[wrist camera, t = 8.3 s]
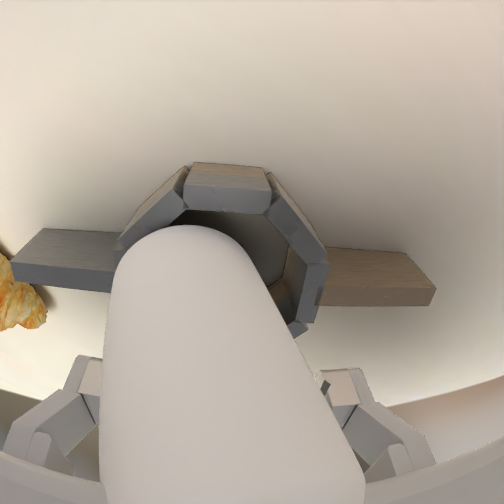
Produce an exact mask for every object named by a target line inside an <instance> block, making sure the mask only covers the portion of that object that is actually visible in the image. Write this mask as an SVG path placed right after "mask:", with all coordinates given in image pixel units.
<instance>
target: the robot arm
mask: <svg viewBox="0 0 504 504" xmlns="http://www.w3.org/2000/svg"><path fill="white" fill-rule="evenodd" d="M102 360H103V359H101V358H95V357H89V356H84V355H78V356H77V357H76V359H75V361H74V364H73V366H72V368H71V371H70V373H69V376H68V378H67V380H66V383H65V385H64V388H63V390H61V389H59V390H57V391H56V392H54V393H53V394H52V395H50V396H49V397H47V398H46V399H45V400H43V401H42V402H41V403H39V404H38V405H36V406H35V407H33V408H32V409H31V410H29V411H28V412H26V413H25V414H24V415H22V416H21V417H19V418H18V419H17V420H15V421H14V422H13V424H12V426H11V429H10V431H9V434H8V436H7V439H6V441H5V444H4V447H3V449H2V452H1V451H0V504H108V501H107V496H106V491H105V487H104V485H103V484H102V483H98V482H94V481H90V480H86V479H82V478H78V477H74V475H75V469H74V467H73V466H72V464H71V463H70V462H69V461H68V460H67V458H66V457H65V456H66V455H67V454H68V453H69V452H70V451H71V450H72V449H73V448H74V447H75V446H76V445H77V444H78V443H79V442H80V441H81V440H82V439H83V438H84V437H85V436H86V435H87V434H88V433H89V432H90V431H91V430H92V429H93V428H94V427H95V425H99V407H100V387H101V372H102ZM315 378H316V382H317V384H318V386H319V388H320V390H321V392H322V393H323V395H324V397H325V399H326V401H327V403H328V405H329V407H330V409H331V410H332V412H333V414H334V416H335V418H336V420H337V422H338V424H339V426H340V428H341V429H342V431H343V433H344V435H345V437H346V439H347V441H348V443H349V445H350V446H351V447H352V448H353V449H354V450H355V451H356V452H357V453H358V454H359V455H360V456H361V457H362V458H363V459H364V460H365V461H366V462H367V463H368V464H369V465H370V466H371V467H370V468H369V469H368V470H367V471H366V472H365V473H364V477H365V482H366V486H365V496H364V503H363V504H504V436H503V437H501V438H498V439H496V440H494V441H492V442H490V443H488V444H486V445H483V446H481V447H479V448H477V449H474V450H472V451H469V452H467V453H464V454H462V455H459V456H457V457H454V458H452V459H449V460H447V461H444V462H441V463H438V464H436V462H435V459H434V457H433V455H432V452H431V450H430V448H429V446H428V443H427V441H426V438H425V436H423V435H422V434H421V433H419V432H418V431H417V430H415V429H414V428H413V427H411V426H410V425H408V424H407V423H406V422H405V421H403V420H402V419H400V418H399V417H398V416H396V415H395V414H394V413H392V412H391V411H390V410H388V409H387V408H386V407H385V406H383V405H382V404H381V403H379V402H376V403H375V401H374V398H373V396H372V393H371V391H370V388H369V386H368V384H367V381H366V379H365V377H364V374H363V372H362V370H361V369H360V368H352V369H334V370H319V371H318V372H317V374H316V377H315Z"/></svg>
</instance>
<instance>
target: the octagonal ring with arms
mask: <svg viewBox="0 0 504 504" xmlns="http://www.w3.org/2000/svg"><path fill="white" fill-rule="evenodd" d="M189 172H197V173H212V174H226V175H239V176H250V177H261V178H267V181H268V183H269V185H270V187H271V186H273V185H274V184H275V183H276V184H277V185H278V186H279V188H280V189H281V190H282V191H283V193H284V194H285V195H286V196H287V198H288V199H289V200H290V201H291V203H292V204H293V205H294V206H295V208H296V209H297V210H298V211H299V213H300V214H301V215H302V217H303V218H304V219H305V220H306V222H307V223H308V224H309V226H310V227H311V228H312V229H313V227H312V226H311V224H310V222H309V221H308V219H307V218H306V216H305V215H304V214H303V213H302V211H301V210H300V209H299V207H298V206H297V205H296V204H295V202H294V201H293V200H292V199H291V197H290V196H289V195H288V193H287V192H286V191H285V190H284V188H283V187H282V186H281V185H280V183H279V182H278V181H277V180H276V178H275V177H274V176H273V175H272V174H271V172H270V173H269V174H267V175H266V176H265V174H264V171H263V169H262V168H260V167H249V166H238V165H225V164H212V163H196V162H194V164H193V166H192V168H191V170H190V171H189V170H188V168H187V167H186V166H184V167H183V168H181V169H180V170H179V171H178V172H177V173H176V174H175V175H174V176H172V177H171V178H170V179H169V180H168V181H167V182H166V183H165V184H164V185H163V186H161V187H160V188H159V189H158V190H157V191H156V192H155V193H154V194H153V195H152V196H151V197H150V198H149V199H147V200H146V201H145V202H144V203H143V204H142V205H141V206H140V207H139V208H138V210H137V211H136V213H135V214H134V216H133V217H132V219H133V218H134V217H135V216H136V215H137V214H138V213H139V212H140V211H141V210H142V209H143V208H144V207H145V206H146V205H148V204H149V203H150V202H151V201H152V200H153V199H154V198H155V197H156V196H157V195H158V194H159V193H160V192H162V191H163V190H164V189H165V188H166V187H167V186H168V185H169V184H170V183H171V182H173V181H174V180H175V179H176V178H177V177H178V176H180V177H181V178H182V179H183V180H184V181H186V179H187V177H188V174H189ZM132 219H131V220H132ZM131 220H130V221H131ZM313 231H314V229H313ZM314 232H315V231H314ZM316 235H317V234H316ZM324 249H325V250H326V252H327V254H328V256H326V258H327V260H328V262H329V264H330V266H329V270H328V274H327V277H326V281H325V285H324V288H323V292H322V291H321V290H319V291H320V292H322V295H321V296H320V295H319V293H318V297H316V298H317V301H315V304H314V306H429V304H430V302H431V299H432V297H433V295H434V293H435V290H436V287H435V286H434V285H433V284H432V282H431V281H430V280H429V279H428V278H427V277H426V275H425V274H424V273H423V272H422V271H421V270H420V269H419V268H418V266H417V265H416V264H415V263H414V262H413V261H412V260H411V259H410V258H409V257H408V255H407V254H406V253H397V252H385V251H372V250H360V249H347V248H334V247H324ZM296 258H297V252H296V251H295V250H294V249H293V247H292V246H291V245H290V244H289V247H288V253H287V258H286V263H285V269H284V274H283V277H282V278H280V279H279V280H278V281H276V282H275V283H273V284H272V285H270V286H269V287H267V290H268V292H269V294H270V295H271V297H272V299H273V301H274V303H275V305H277V304H278V303H280V302H281V301H283V300H284V299H286V298H287V297H289V292H290V287H291V283H292V278H293V273H294V268H295V263H296ZM320 286H322V285H320ZM319 288H320V287H319ZM320 294H321V293H320ZM319 296H320V297H321V299H320V298H319ZM318 298H319V299H318ZM315 300H316V299H315ZM319 301H320V302H319ZM317 302H319V303H318V305H317Z"/></svg>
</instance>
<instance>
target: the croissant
mask: <svg viewBox="0 0 504 504" xmlns="http://www.w3.org/2000/svg"><path fill="white" fill-rule="evenodd" d="M47 312H48V310H47V308H46V306H45V304H44V302H43V300H42V299H41V297H40V296H39V295H38V294H37V293H36V292H35V290H34V288H33V287H32V286H31V285H30V284H29V283H24V282H17V281H15V280H14V276H13V273H12V269H11V265H10V261H9V260H8V259H7V258H6V256H3V255H2V254H1V253H0V331H3V330H6V329H7V328H13V327H14V326H15V325H16V324H17V323H18V324H20V325H21V326H23V327H24V328H27V329H35V328H38V327H39V326H41V325H42V324H44V323H45V322H46V317H47V315H46V313H47Z"/></svg>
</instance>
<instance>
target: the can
mask: <svg viewBox="0 0 504 504" xmlns="http://www.w3.org/2000/svg"><path fill="white" fill-rule="evenodd" d="M99 470H100V483H102V484H103V485H104V487H105V491H106V496H107V501H108V504H363V503H364V496H365V486H366V482H365V477H364V474H363V472H362V469H361V467H360V465H359V463H358V461H357V459H356V457H355V455H354V453H353V451H352V449H351V447H350V445H349V443H348V441H347V439H346V437H345V435H344V433H343V431H342V429H341V428H340V426H339V424H338V422H337V420H336V418H335V416H334V414H333V412H332V410H331V409H330V407H329V405H328V403H327V401H326V399H325V397H324V395H323V393H322V392H321V390H320V388H319V386H318V384H317V382H316V380H315V378H314V376H313V374H312V373H311V371H310V369H309V367H308V365H307V363H306V361H305V359H304V357H303V356H302V354H301V352H300V350H299V348H298V346H297V344H296V342H295V341H294V339H293V337H292V335H291V333H290V331H289V329H288V327H287V325H286V324H285V322H284V320H283V318H282V316H281V314H280V312H279V310H278V309H277V307H276V305H275V303H274V301H273V299H272V297H271V295H270V294H269V292H268V290H267V288H266V286H265V284H264V282H263V280H262V279H261V277H260V275H259V273H258V271H257V269H256V268H255V266H254V264H253V262H252V260H251V259H250V257H249V256H248V254H247V253H246V251H245V250H244V249H243V248H242V247H241V245H240V244H238V243H237V242H236V241H235V240H234V239H232V238H231V237H229V236H228V235H226V234H224V233H222V232H220V231H217V230H215V229H212V228H208V227H204V226H197V225H178V226H172V227H167V228H163V229H160V230H157V231H155V232H153V233H150V234H149V235H147V236H145V237H143V238H142V239H140V240H139V241H137V242H136V243H135V244H134V245H133V246H132V247H131V248H130V249H129V250H128V251H127V252H126V253H125V255H124V256H123V257H122V259H121V261H120V262H119V264H118V267H117V269H116V272H115V275H114V279H113V284H112V290H111V296H110V302H109V309H108V316H107V323H106V331H105V340H104V350H103V360H102V372H101V387H100V407H99Z"/></svg>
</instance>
